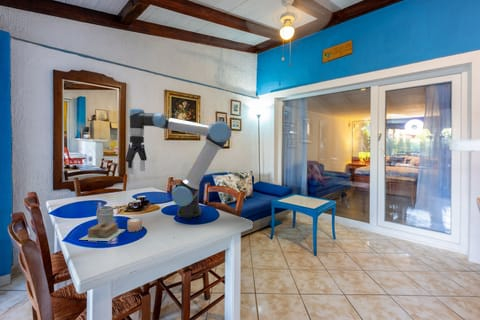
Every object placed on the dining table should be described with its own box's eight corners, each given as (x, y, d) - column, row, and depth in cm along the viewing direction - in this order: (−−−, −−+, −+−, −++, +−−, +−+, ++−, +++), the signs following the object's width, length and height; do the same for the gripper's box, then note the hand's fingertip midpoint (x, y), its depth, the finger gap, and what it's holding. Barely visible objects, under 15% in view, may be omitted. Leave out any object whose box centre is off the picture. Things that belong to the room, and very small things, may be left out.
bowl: (144, 227, 121) (144, 218, 121) (138, 232, 114) (138, 222, 114) (131, 226, 121) (131, 217, 121) (124, 231, 114) (124, 222, 114)
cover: (117, 230, 113) (117, 221, 113) (106, 238, 104) (106, 228, 104) (100, 230, 114) (100, 221, 113) (88, 237, 105) (88, 227, 104)
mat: (125, 230, 116) (125, 229, 116) (108, 242, 102) (108, 240, 102) (99, 229, 116) (99, 228, 116) (79, 240, 102) (79, 239, 102)
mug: (104, 228, 117) (104, 206, 117) (90, 224, 122) (90, 203, 121) (117, 224, 124) (117, 203, 124) (103, 220, 129) (103, 200, 128)
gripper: (140, 136, 141) (140, 169, 143) (118, 134, 116) (118, 174, 118) (152, 137, 141) (152, 170, 142) (132, 135, 116) (132, 175, 117)
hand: (136, 172), depth 130 cm, fingers open, 13 cm apart
